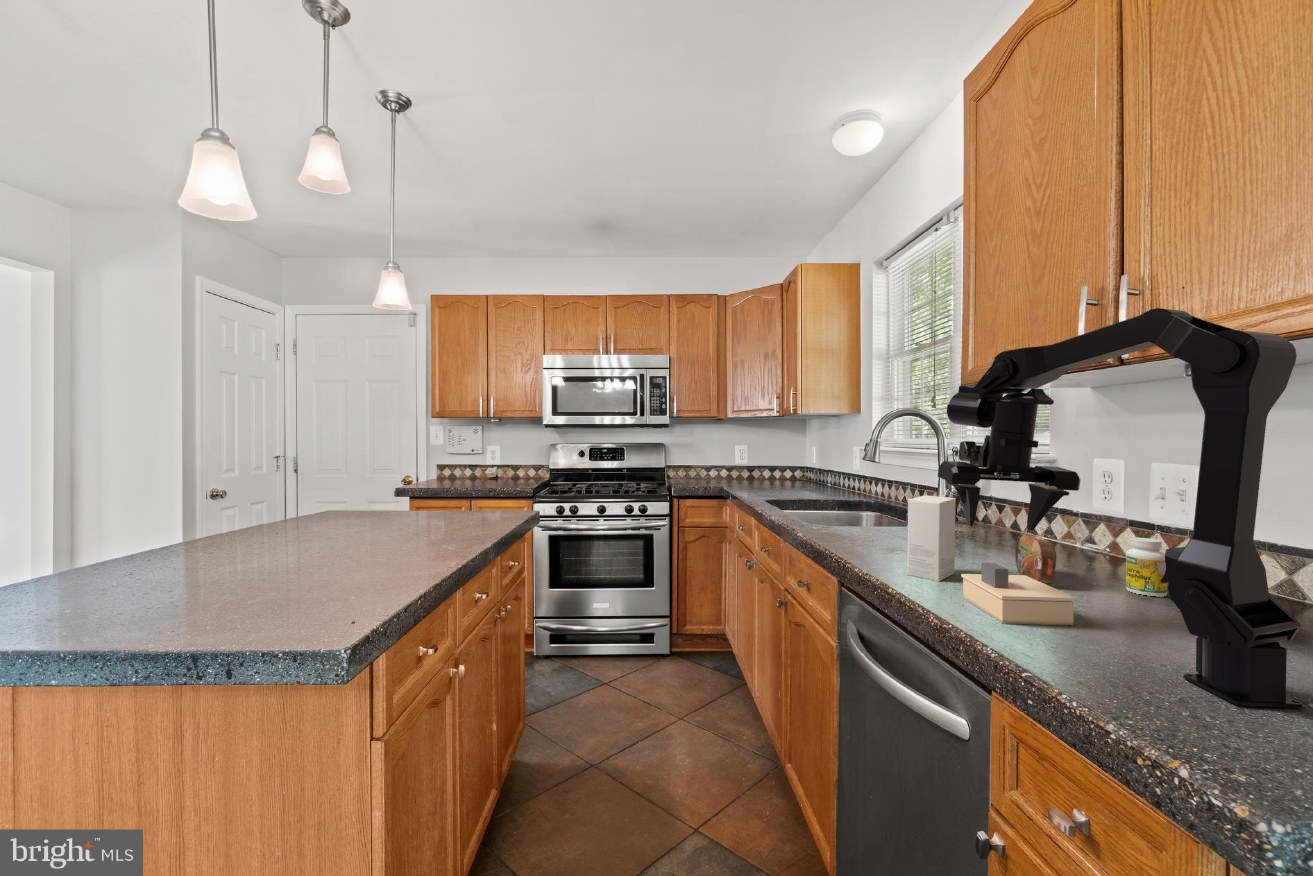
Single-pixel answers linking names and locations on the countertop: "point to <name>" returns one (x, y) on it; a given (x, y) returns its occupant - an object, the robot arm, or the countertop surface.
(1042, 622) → the carton
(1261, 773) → the countertop surface
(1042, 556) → the tin
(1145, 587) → the supplement bottle
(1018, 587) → the carton lid
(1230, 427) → the robot arm
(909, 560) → the skincare box
